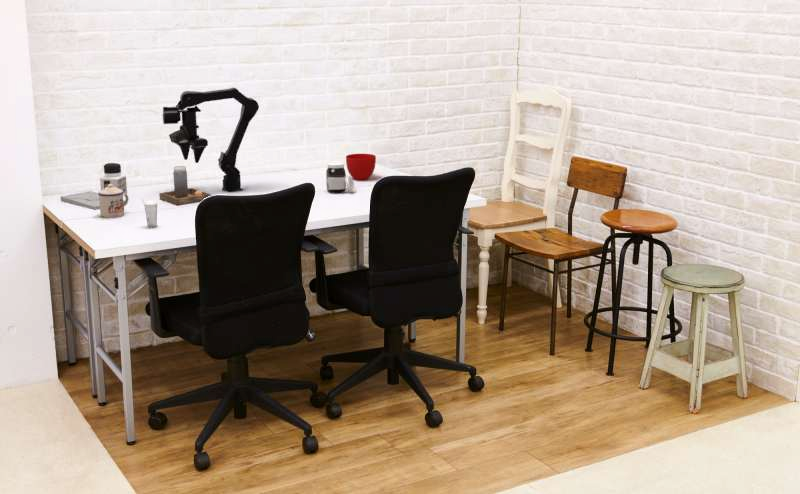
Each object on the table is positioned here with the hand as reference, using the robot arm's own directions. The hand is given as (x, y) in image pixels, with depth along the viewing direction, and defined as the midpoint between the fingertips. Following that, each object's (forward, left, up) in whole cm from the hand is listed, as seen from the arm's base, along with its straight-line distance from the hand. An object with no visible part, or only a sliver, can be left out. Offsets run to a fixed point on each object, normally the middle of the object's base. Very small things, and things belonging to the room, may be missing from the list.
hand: (191, 161), depth 421 cm
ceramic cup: (-72, +20, -13) cm, 76 cm away
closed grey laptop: (+39, -9, -14) cm, 42 cm away
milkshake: (+39, +41, -13) cm, 58 cm away
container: (+27, -16, -13) cm, 34 cm away
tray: (+9, +10, -13) cm, 19 cm away
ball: (+5, +14, -12) cm, 19 cm away
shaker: (+10, +9, -12) cm, 18 cm away
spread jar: (-48, +37, -13) cm, 62 cm away
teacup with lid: (+41, +16, -13) cm, 46 cm away
